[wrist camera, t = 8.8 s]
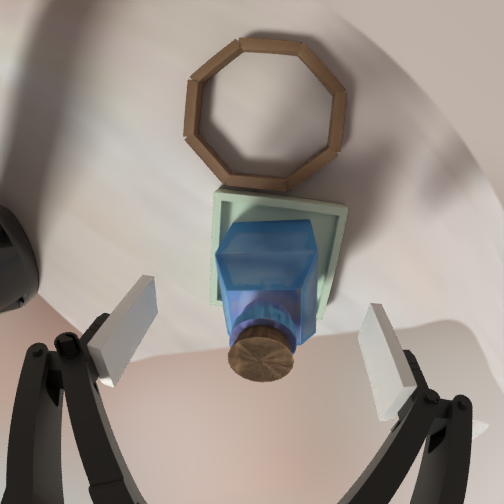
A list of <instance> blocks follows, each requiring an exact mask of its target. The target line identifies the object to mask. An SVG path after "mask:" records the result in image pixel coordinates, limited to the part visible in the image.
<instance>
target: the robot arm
mask: <svg viewBox="0 0 504 504" xmlns="http://www.w3.org/2000/svg"><path fill="white" fill-rule="evenodd" d="M37 289H38V273H37V267H36V262H35V259H34V255H33V252H32V249H31V247H30V244H29V242H28V239H27V237H26V235H25V233H24V231H23V229H22V227H21V226H20V224H19V223H18V221H17V220H16V218H15V217H14V216H13V215H12V214H11V213H10V212H9V211H8V210H7V209H6V208H4V207H2V206H0V314H3V313H6V312H9V311H12V310H15V309H18V308H21V307H23V306H25V305H26V304H27V303H28V302H29V301H31V300H32V299H33V298H34V297H35V295H36V293H37ZM157 313H158V310H157V302H156V292H155V282H154V277H153V276H147V275H142V277H141V278H140V279H139V280H138V281H137V283H136V284H135V285H134V286H133V287H132V289H131V290H130V291H129V292H128V293H127V295H126V296H125V297H124V298H123V299H122V301H121V302H120V303H119V304H118V306H117V307H116V308H115V309H114V311H113V312H112V313H111V314H107V313H103V314H102V315H100V316H99V317H97V318H96V319H95V321H94V322H93V323H92V324H91V326H90V327H89V329H87V330H86V332H85V333H84V334H83V335H82V337H81V338H80V339H78V337H77V335H76V334H74V333H72V332H66V333H62V334H60V335H59V336H57V337H56V339H55V341H54V345H55V347H56V349H57V351H49V350H48V348H47V346H46V345H45V344H43V343H35V344H33V345H31V346H30V347H29V348H28V350H27V353H26V356H25V360H24V363H23V367H22V371H21V374H20V379H19V383H18V387H17V392H16V397H15V403H14V407H13V413H12V419H11V426H10V434H9V443H8V455H7V473H6V489H5V492H4V495H3V498H2V501H1V504H64V498H63V487H62V473H61V472H62V471H61V422H62V406H63V394H64V393H63V392H64V391H65V397H66V402H67V407H68V412H69V416H70V420H71V425H72V429H73V432H74V436H75V440H76V443H77V447H78V450H79V453H80V457H81V460H82V463H83V466H84V469H85V472H86V475H87V477H88V480H89V483H90V486H89V493H90V496H91V499H92V501H93V504H147V503H146V501H145V500H144V498H143V497H142V495H141V493H140V492H139V490H138V488H137V486H136V484H135V482H134V480H133V478H132V476H131V474H130V472H129V469H128V467H127V465H126V463H125V461H124V458H123V456H122V454H121V451H120V449H119V446H118V444H117V442H116V439H115V436H114V434H113V431H112V429H111V426H110V423H109V420H108V417H107V415H106V412H105V409H104V406H103V402H102V399H101V396H100V393H99V390H98V386H97V383H96V380H97V379H98V377H99V378H100V380H101V382H102V384H105V385H108V386H111V387H115V386H116V384H117V382H118V381H119V378H120V377H121V375H122V373H123V372H124V370H125V368H126V366H127V365H128V363H129V361H130V359H131V358H132V356H133V354H134V352H135V351H136V349H137V347H138V345H139V344H140V342H141V340H142V339H143V337H144V335H145V333H146V332H147V330H148V328H149V327H150V325H151V323H152V322H153V320H154V318H155V317H156V315H157ZM358 341H359V344H360V348H361V351H362V355H363V358H364V362H365V366H366V369H367V373H368V377H369V380H370V384H371V388H372V392H373V396H374V400H375V404H376V408H377V413H378V417H379V421H387V420H393V419H394V417H395V416H396V414H397V413H398V416H399V420H398V421H397V423H396V424H395V425H394V426H393V427H392V429H391V433H390V434H389V436H388V437H387V439H386V440H385V442H384V443H383V445H382V446H381V448H380V449H379V451H378V452H377V454H376V455H375V457H374V458H373V459H372V461H371V462H370V464H369V465H368V466H367V468H366V469H365V471H364V472H363V473H362V474H361V476H360V477H359V478H358V480H357V481H356V482H355V483H354V485H353V486H352V487H351V488H350V489H349V491H348V492H347V493H346V494H345V495H344V497H343V498H342V499H341V500H340V501H339V502H338V503H337V504H388V503H389V502H390V500H391V498H392V497H393V496H394V494H395V492H396V491H397V489H398V488H399V486H400V484H401V483H402V481H403V480H404V478H405V476H406V474H407V473H408V471H409V469H410V467H411V466H412V464H413V462H414V460H415V458H416V456H417V454H418V453H419V451H420V449H421V446H422V444H423V442H424V440H425V438H426V443H425V448H424V453H423V457H422V461H421V466H420V470H419V474H418V478H417V482H416V485H415V488H414V492H413V495H412V498H411V501H410V504H463V503H464V498H465V493H466V487H467V480H468V473H469V466H470V455H471V442H472V403H471V401H470V399H469V398H467V397H466V396H464V395H457V396H455V397H454V399H453V400H452V401H451V400H445V399H440V396H439V395H438V393H437V392H435V391H434V390H432V389H429V388H428V385H427V383H426V381H425V378H424V376H423V374H422V371H421V370H420V367H419V365H418V362H417V360H416V358H415V356H414V355H413V354H412V353H411V352H410V350H402V348H401V345H400V343H399V341H398V338H397V336H396V334H395V332H394V330H393V327H392V325H391V323H390V321H389V319H388V317H387V315H386V312H385V310H384V308H383V306H382V304H375V303H370V306H369V308H368V311H367V314H366V317H365V319H364V322H363V325H362V327H361V330H360V333H359V335H358ZM426 436H427V437H426Z"/></svg>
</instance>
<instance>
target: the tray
mask: <svg viewBox="0 0 504 504" xmlns="http://www.w3.org/2000/svg"><path fill="white" fill-rule="evenodd" d="M347 215H348V208H347V207H346V206H345V205H344V204H338V203H332V202H325V201H319V200H312V199H305V198H298V197H290V196H283V195H275V194H267V193H258V192H249V191H240V190H230V189H220V188H218V189H217V190H216V191H215V192H214V202H213V223H212V248H211V284H210V305H215V306H221V307H223V303H222V297H221V291H220V285H219V278H218V272H217V266H216V259H215V253H216V251H217V249H218V247H219V246H220V244H221V242H222V240H223V239H224V237H225V235H226V233H227V232H228V230H229V228H230V226H231V225H232V223H235V222H255V221H278V220H305V219H310V221H311V224H312V228H313V232H314V236H315V240H316V244H317V248H318V284H317V313H316V319H323V316H324V312H325V308H326V305H327V301H328V297H329V293H330V290H331V286H332V282H333V278H334V274H335V270H336V265H337V261H338V257H339V252H340V248H341V244H342V239H343V234H344V229H345V225H346V220H347Z"/></svg>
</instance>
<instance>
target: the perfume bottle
mask: <svg viewBox="0 0 504 504" xmlns="http://www.w3.org/2000/svg"><path fill="white" fill-rule="evenodd" d="M215 259H216V266H217V272H218V278H219V285H220V291H221V297H222V303H223V309H224V315H225V321H226V326H227V332H228V334H229V336H230V339H229V345H230V347H231V349H230V351H229V353H228V362H229V364H230V367H231V368H232V369H233V370H234V371H235V373H237V374H238V375H240V376H242V377H243V378H245V379H249V380H251V381H256V382H271V381H275V380H278V379H281V378H282V377H284V376H286V375H287V374H288V373H289V372H290V371H291V369H292V368H293V363H294V359H293V354H294V353H295V350H296V346H297V345H302V344H303V343H304V342H305V341H306V340H308V339H309V338H310V337H311V336H312V335H313V334H314V333H316V313H317V284H318V248H317V244H316V240H315V236H314V232H313V228H312V224H311V221H310V219H305V220H278V221H255V222H235V223H232V225H231V226H230V228H229V230H228V232H227V233H226V235H225V237H224V239H223V240H222V242H221V244H220V246H219V247H218V249H217V251H216V253H215Z"/></svg>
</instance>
